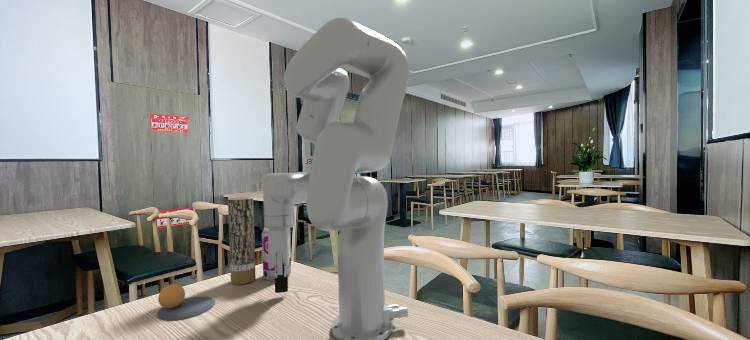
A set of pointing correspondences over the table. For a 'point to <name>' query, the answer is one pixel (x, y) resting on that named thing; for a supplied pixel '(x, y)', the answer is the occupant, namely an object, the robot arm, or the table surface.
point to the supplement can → (267, 272)
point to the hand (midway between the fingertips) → (281, 291)
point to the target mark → (187, 309)
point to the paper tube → (241, 239)
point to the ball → (171, 296)
